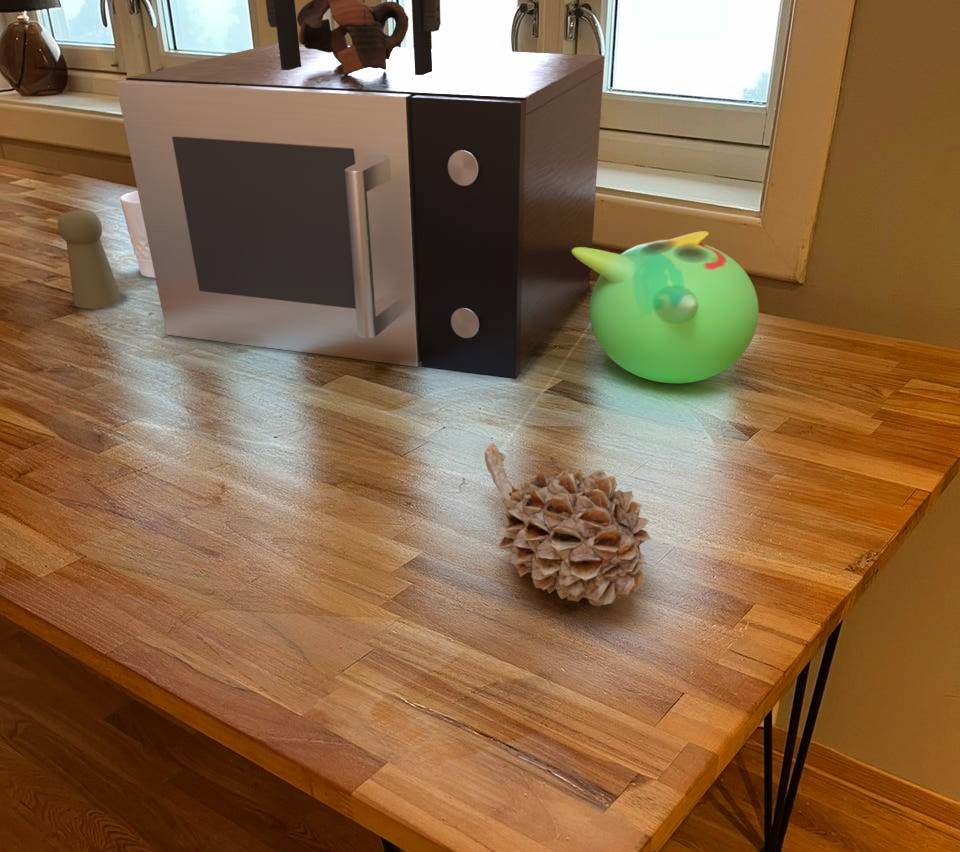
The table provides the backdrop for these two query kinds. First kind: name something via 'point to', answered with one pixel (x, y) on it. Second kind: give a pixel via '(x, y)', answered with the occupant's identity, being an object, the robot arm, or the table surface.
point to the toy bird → (671, 308)
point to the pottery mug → (353, 31)
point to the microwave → (475, 185)
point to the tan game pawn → (88, 260)
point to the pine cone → (572, 532)
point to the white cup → (137, 232)
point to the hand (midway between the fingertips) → (356, 71)
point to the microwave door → (280, 215)
